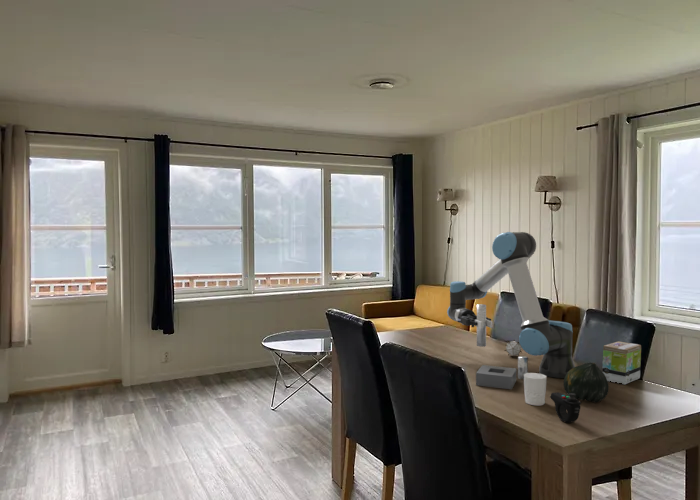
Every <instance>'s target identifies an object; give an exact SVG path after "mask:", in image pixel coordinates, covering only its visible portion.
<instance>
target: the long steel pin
mask: <svg viewBox="0 0 700 500" xmlns="http://www.w3.org/2000/svg"><path fill="white" fill-rule="evenodd" d="M476 315H477V320H478V321H481V322H482V328H478V327H476V346H477V347H480V348H481V347H483V348H485V347H486V346H487V326H486V317H487V305H486V304H483V303H481V304H479V303H477V304H476Z"/></svg>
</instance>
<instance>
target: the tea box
mask: <svg viewBox="0 0 700 500" xmlns="http://www.w3.org/2000/svg"><path fill="white" fill-rule="evenodd" d="M602 350H603V351H602V368H601V369H602V370H601V371H602V372H603V373H604V375H605V376H606V379H607V382H610V381H611V382H612V383H615V382H617V383H616V384H619V383H622V384H621V385H627V384H629V383H631V382H634V381H636V380H638V379H640V378H641V361H642V345H641V344H638V343H632V342H631V343H630V342H624V341H615V342H610V343H608V344H605V345H603V349H602ZM611 382H610V383H611Z"/></svg>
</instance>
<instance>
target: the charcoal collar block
mask: <svg viewBox="0 0 700 500" xmlns="http://www.w3.org/2000/svg"><path fill="white" fill-rule="evenodd" d="M516 382H517V367H516V368H515V367H508V366H507V367H505V366H495V365H487V364H482V365H481V366H480V368H478V370H477V371H476V372H475V385H476V386H479V387H488V388H497V389H506V390H513V387H514V386H515V383H516Z"/></svg>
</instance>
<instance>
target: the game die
mask: <svg viewBox="0 0 700 500" xmlns="http://www.w3.org/2000/svg"><path fill="white" fill-rule="evenodd" d="M505 346H506V347H505V349H504V352H507V353H508V356H511V357H515V356H520V353H523V351H522V347H521V345H520V342H519V341H515V339H513V340H512V341H509V340H507V344H505Z"/></svg>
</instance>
